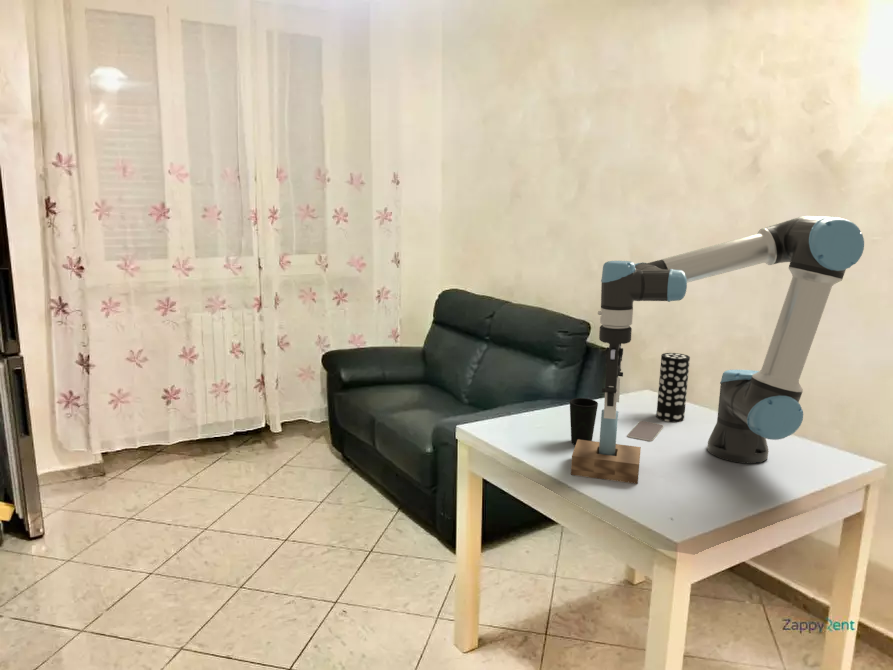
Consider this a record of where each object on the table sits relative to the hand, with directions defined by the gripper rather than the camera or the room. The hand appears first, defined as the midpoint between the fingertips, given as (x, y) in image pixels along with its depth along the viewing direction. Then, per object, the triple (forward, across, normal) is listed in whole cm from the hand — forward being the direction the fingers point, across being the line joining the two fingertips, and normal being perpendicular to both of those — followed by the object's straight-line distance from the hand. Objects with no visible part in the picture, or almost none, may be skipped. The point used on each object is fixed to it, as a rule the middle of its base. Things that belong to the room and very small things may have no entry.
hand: (611, 409), depth 164 cm
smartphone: (+17, -33, +8) cm, 38 cm away
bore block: (+16, 0, -1) cm, 16 cm away
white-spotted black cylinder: (+17, -49, +15) cm, 54 cm away
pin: (+14, 0, -1) cm, 14 cm away
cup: (+16, -17, -9) cm, 25 cm away
